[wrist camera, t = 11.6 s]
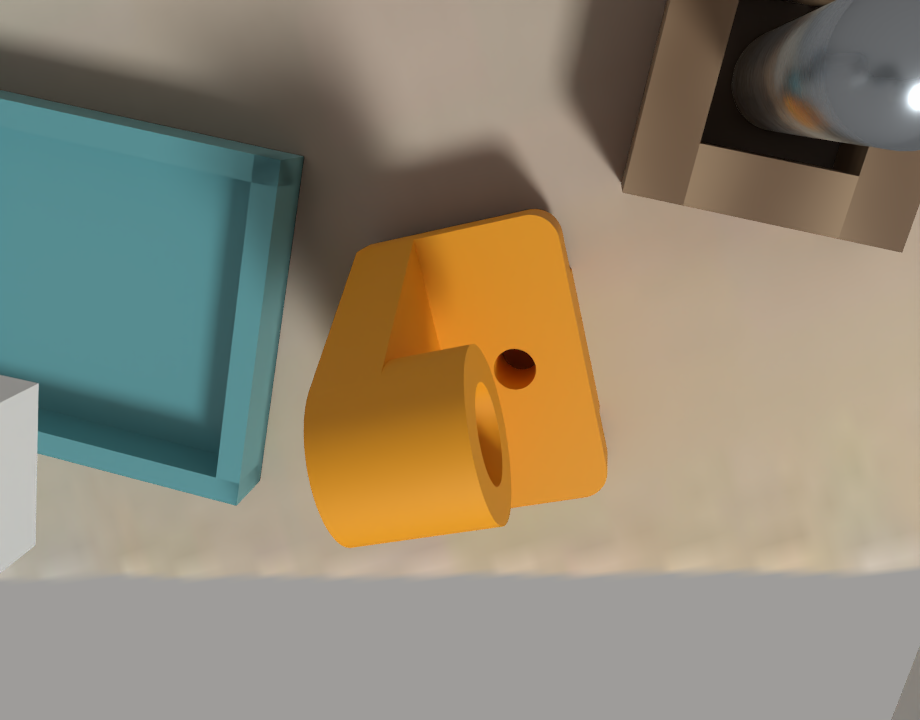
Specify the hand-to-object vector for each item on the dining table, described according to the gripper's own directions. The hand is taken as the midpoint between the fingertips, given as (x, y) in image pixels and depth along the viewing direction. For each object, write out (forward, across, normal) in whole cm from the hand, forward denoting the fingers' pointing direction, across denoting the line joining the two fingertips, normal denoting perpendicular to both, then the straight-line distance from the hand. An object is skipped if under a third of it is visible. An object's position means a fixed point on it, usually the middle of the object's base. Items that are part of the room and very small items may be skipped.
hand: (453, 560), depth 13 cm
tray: (+22, -18, -4) cm, 29 cm away
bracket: (+22, -1, -4) cm, 23 cm away
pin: (+22, +7, +8) cm, 24 cm away
